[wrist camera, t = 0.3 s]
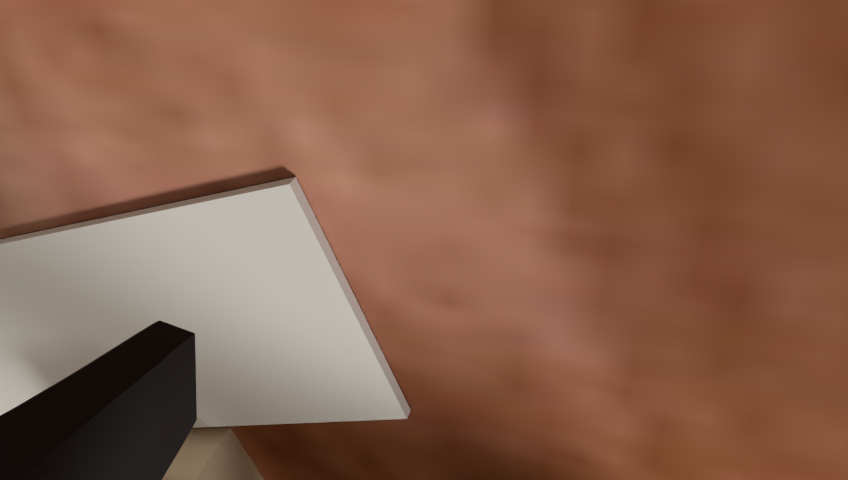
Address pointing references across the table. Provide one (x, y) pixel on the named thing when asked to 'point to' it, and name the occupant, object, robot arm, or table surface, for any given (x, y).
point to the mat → (200, 307)
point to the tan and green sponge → (212, 457)
